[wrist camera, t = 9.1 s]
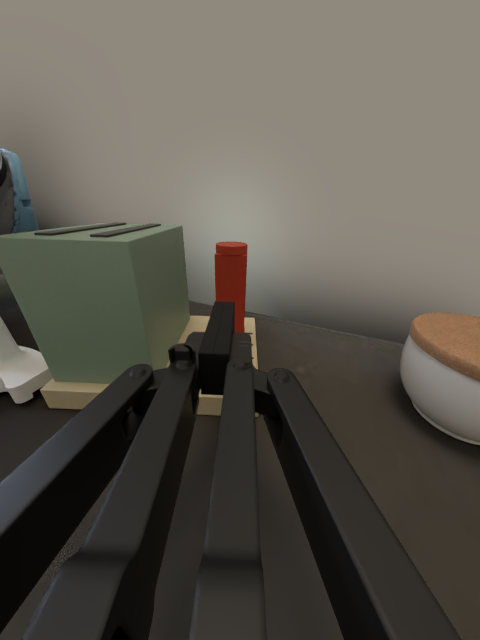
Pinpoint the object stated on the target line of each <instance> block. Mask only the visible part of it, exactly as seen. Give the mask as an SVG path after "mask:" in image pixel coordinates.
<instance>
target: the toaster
mask: <svg viewBox="0 0 480 640" xmlns="http://www.w3.org/2000/svg"><path fill="white" fill-rule="evenodd" d="M0 267H1V269H2V271H3V273H4V275H5V277H6V280H7V282H8V284H9V286H10V288H11V290H12V292H13V294H14V296H15V299H16V301H17V303H18V305H19V307H20V309H21V311H22V313H23V316H24V318H25V320H26V322H27V324H28V326H29V328H30V330H31V332H32V335H33V337H34V339H35V341H36V343H37V345H38V347H39V349H40V352H41V354H42V356H43V358H44V360H45V362H46V364H47V366H48V369H49V371H50V373H51V375H52V377H53V379H52V380H50V381H49V382H48V383H47V384H46V385H45V386H44V387H42V388H41V389H40V392H41V393H42V395H43V397H44V399H45V401H46V403H47V405H48V407H49V408H60V409H83V408H84V407H85V406H86V405H87V404H88V403H90V402H91V401H92V400H93V399H94V398H95V397H96V396H97V395H99V394H100V393H101V392H102V391H103V390H104V389H105V388H106V387H107V386H109V385H110V384H111V383H112V382H113V381H114V380H115V379H116V378H117V377H119V376H120V375H121V374H122V373H123V372H124V371H125V370H127V369H128V368H129V367H131V366H134V365H137V364H148V365H150V366H151V367H152V368H153V370H158V369H163V368H167V367H169V365H170V360H169V353H168V350H169V348H170V347H172V346H174V345H176V344H180V343H185V341H186V339H187V337H188V335H189V334H191V333H192V332H205V330H206V327H207V324H208V321H209V318H210V316H190V311H189V299H188V288H187V277H186V264H185V253H184V241H183V230H182V225H161V224H126V223H100V224H91V225H82V226H74V227H66V228H57V229H48V230H40V231H31V232H22V233H14V234H5V235H0ZM244 327H245V333H248V334H249V335H250V336H251V343H252V363H253V365H254V367H255V368H256V369H258V363H257V348H256V332H255V318H244ZM222 400H223V395H204V394H201V388H200V392H199V406H198V410H197V414H198V415H221V408H222ZM255 417H258V413H256V412H255Z"/></svg>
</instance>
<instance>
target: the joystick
mask: <svg viewBox="0 0 480 640" xmlns="http://www.w3.org/2000/svg"><path fill="white" fill-rule="evenodd" d="M52 379H53V377H52V375H51V373H50V371H49V369H48V366H47V364H46V362H45V360H44V358H43V356H42V354H41V352H38V351H36V350H34V349H31V348H27V347H23V346H18V345H17V344H16V342H15V340H14V339H13V337H12V335H11V333H10V332H9V330H8V328H7V327H6V325H5V323H4V322H3V320H2V318H1V316H0V392H9V394H10V395H11V397H12V398H13V400H14V402H15V403H17V404H19V403H24V402H26V401H28V400H30V399H32V398H33V394H32V393H33V392H35V391H36V390H38V389H39V388H41V387H42V386H44V385H46V384H47V383H48V382H49V381H50V380H52Z"/></svg>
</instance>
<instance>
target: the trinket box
mask: <svg viewBox="0 0 480 640" xmlns="http://www.w3.org/2000/svg"><path fill="white" fill-rule="evenodd" d="M400 375H401V380H402V383H403V386H404V388H405V390H406V392H407V394H408V396H409V397H410V399H411V401H412V404H413V406H414V408H415V409H416V410H417V412H418V413H419V414H420V415H421V416H422V417H423V418H424V419H425V420H426V421H428V422H429V423H430V424H432V425H433V426H434V427H436V428H437V429H439V430H441V431H442V432H444V433H446V434H448V435H450V436H452V437H454V438H456V439H459V440H461V441H464V442H468V443H471V444H476V445H480V317H476V316H470V315H463V314H455V313H427V314H423V315H420V316H418V317H416V318H415V319H414V320H413V322H412V324H411V326H410V329H409V335H408V337H407V340H406V343H405V345H404V348H403V351H402V355H401V361H400Z"/></svg>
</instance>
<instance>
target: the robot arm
mask: <svg viewBox="0 0 480 640" xmlns="http://www.w3.org/2000/svg"><path fill="white" fill-rule="evenodd" d="M31 231H39V229H38V225H37V221H36V217H35V214H34V210H33V206H32V203H31V198H30V195H29V191H28V187H27V183H26V179H25V176H24V172H23V168H22V164H21V161H20V158H19V157H18V155H16V154H15V153H13V152H9V151H7V150H5V149H0V235H5V234H14V233H22V232H31ZM168 353H169V360H170V365H169V367H167V368H163V369H158V370H153V368H152V367H151V366H150V365H148V364H137V365H134V366H131V367H129V368H128V369H127V370H125V371H124V372H123V373H122V374H121V375H120V376H119V377H117V378H116V379H115V380H114V381H113V382H112V383H111V384H110V385H109V386H107V387H106V388H105V389H104V390H103V391H102V392H101V393H100V394H99V395H97V396H96V397H95V398H94V399H93V400H92V401H91V402H90V403H88V404H87V405H86V406H85V407H84V408H83V409H82V410H81V411H80V412H78V413H77V414H76V415H75V416H74V417H73V418H72V419H71V420H69V421H68V422H67V423H66V424H65V425H64V426H63V427H62V428H61V429H59V430H58V431H57V432H56V433H55V434H54V435H53V436H52V437H50V438H49V439H48V440H47V441H46V442H45V443H44V444H43V445H42V446H40V447H39V448H38V449H37V450H36V451H35V452H34V453H33V454H32V455H30V456H29V457H28V458H27V459H26V460H25V461H24V462H23V463H21V464H20V465H19V466H18V467H17V468H16V469H15V470H14V471H13V472H11V473H10V474H9V475H8V476H7V477H6V478H5V479H4V480H2V481H1V482H0V634H1V632H2V631H3V629H4V628H5V627H6V625H7V624H8V622H9V621H10V620H11V618H12V617H13V615H14V614H15V613H16V611H17V610H18V609H19V607H20V606H21V604H22V603H23V602H24V600H25V599H26V597H27V596H28V595H29V593H30V592H31V590H32V589H33V588H34V586H35V585H36V584H37V582H38V581H39V579H40V578H41V577H42V575H43V574H44V572H45V571H46V570H47V568H48V567H49V565H50V564H51V563H52V561H53V560H54V558H55V557H56V556H57V554H58V553H59V552H60V550H61V549H62V547H63V546H64V545H65V543H66V542H67V540H68V539H69V538H70V536H71V535H72V533H73V532H74V531H75V529H76V528H77V527H78V525H79V524H80V522H81V521H82V520H83V518H84V517H85V515H86V514H87V513H88V511H89V510H90V508H91V507H92V506H93V504H94V503H95V502H96V500H97V499H98V497H99V496H100V495H101V493H102V492H103V490H104V489H105V488H106V486H107V485H108V483H109V482H110V481H111V479H112V478H113V476H114V475H115V474H116V472H117V471H118V470H119V471H118V473H117V475H116V477H115V479H114V481H113V483H112V485H111V487H110V490H109V492H108V494H107V496H106V498H105V500H104V502H103V504H102V506H101V508H100V510H99V512H98V514H97V517H96V519H95V521H94V523H93V525H92V527H91V529H90V531H89V533H88V535H87V537H86V539H85V541H84V543H83V545H82V547H81V548H80V549H79V551H78V552H77V553H76V554H74V555H73V556H71V557H70V558H68V559H67V560H66V561H65V562H64V563H63V565H62V566H61V567H60V568H59V570H58V571H57V573H56V574H55V576H54V578H53V579H52V581H51V583H50V585H49V586H48V588H47V590H46V592H45V594H44V596H43V598H42V600H41V602H40V604H39V606H38V607H37V609H36V611H35V613H34V615H33V617H32V619H31V621H30V623H29V625H28V627H27V629H26V631H25V633H24V634H23V636H22V638H21V640H148V637H149V633H150V628H151V623H152V616H153V610H154V596H155V589H156V584H157V579H158V575H159V571H160V567H161V562H162V558H163V554H164V550H165V545H166V541H167V537H168V533H169V529H170V524H171V520H172V516H173V512H174V507H175V503H176V499H177V495H178V490H179V486H180V482H181V478H182V474H183V469H184V465H185V461H186V457H187V452H188V448H189V444H190V440H191V436H192V431H193V427H194V423H195V419H196V414H197V410H198V406H199V392H200V388H201V394H204V395H223V400H222V408H221V416H220V424H219V432H218V439H217V447H216V455H215V463H214V471H213V479H212V487H211V495H210V502H209V510H208V518H207V526H206V534H205V542H204V549H203V555H202V560H201V563H200V566H199V571H198V576H197V583H196V590H195V597H194V605H193V612H192V619H191V627H190V634H189V640H266V617H265V595H264V578H263V568H262V563H261V553H260V529H259V503H258V477H257V451H256V425H255V412H256V413H258V414H261V415H264V420H265V422H266V425H267V428H268V431H269V434H270V436H271V439H272V442H273V445H274V447H275V450H276V453H277V456H278V458H279V461H280V464H281V467H282V469H283V472H284V475H285V478H286V480H287V483H288V486H289V489H290V492H291V494H292V497H293V500H294V503H295V505H296V508H297V511H298V514H299V516H300V519H301V522H302V525H303V527H304V530H305V533H306V536H307V538H308V541H309V544H310V547H311V549H312V552H313V555H314V558H315V561H316V563H317V566H318V569H319V572H320V574H321V577H322V580H323V583H324V585H325V588H326V591H327V594H328V596H329V599H330V602H331V605H332V607H333V610H334V613H335V616H336V618H337V621H338V624H339V627H340V630H341V632H342V635H343V638H344V640H462V639H461V638H460V636H459V635H458V633H457V632H456V630H455V628H454V627H453V625H452V624H451V622H450V620H449V619H448V617H447V616H446V614H445V613H444V611H443V609H442V608H441V606H440V605H439V603H438V601H437V600H436V598H435V597H434V595H433V594H432V592H431V590H430V589H429V587H428V586H427V584H426V583H425V581H424V579H423V578H422V576H421V575H420V573H419V571H418V570H417V568H416V567H415V565H414V564H413V562H412V560H411V559H410V557H409V556H408V554H407V552H406V551H405V549H404V548H403V546H402V545H401V543H400V541H399V540H398V538H397V537H396V535H395V533H394V532H393V530H392V529H391V527H390V526H389V524H388V522H387V521H386V519H385V518H384V516H383V514H382V513H381V511H380V510H379V508H378V507H377V505H376V503H375V502H374V500H373V499H372V497H371V496H370V494H369V492H368V491H367V489H366V488H365V486H364V484H363V483H362V481H361V480H360V478H359V477H358V475H357V473H356V472H355V470H354V469H353V467H352V465H351V464H350V462H349V461H348V459H347V458H346V456H345V454H344V453H343V451H342V450H341V448H340V446H339V445H338V443H337V442H336V440H335V439H334V437H333V435H332V434H331V432H330V431H329V429H328V428H327V426H326V424H325V423H324V421H323V420H322V418H321V416H320V415H319V413H318V412H317V410H316V409H315V407H314V405H313V404H312V402H311V401H310V399H309V397H308V396H307V394H306V393H305V391H304V390H303V388H302V386H301V385H300V383H299V382H298V380H297V378H296V377H295V375H294V374H293V373H292V372H290V371H289V370H287V369H283V368H275V369H272V370H271V371H269V373H265V372H262V371H260V370H258V369H256V368H255V367H254V365H253V363H252V343H251V336H250V335H249V334H248V333H235V302H221V301H215V303H214V306H213V309H212V312H211V315H210V318H209V321H208V324H207V327H206V330H205V332H192V333H191V334H189V335H188V337H187V339H186V341H185V343H180V344H176V345H174V346H172V347H170V348H169V350H168ZM119 468H120V469H119Z"/></svg>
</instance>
